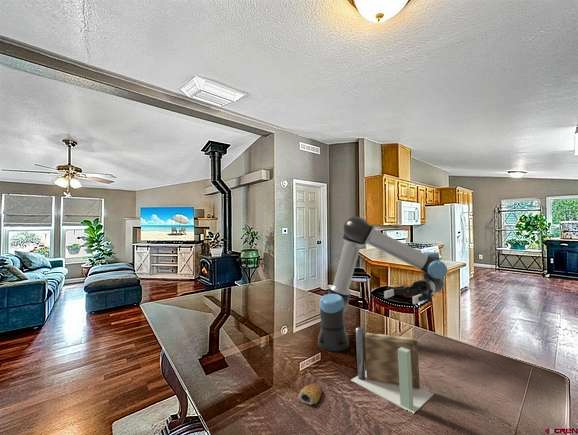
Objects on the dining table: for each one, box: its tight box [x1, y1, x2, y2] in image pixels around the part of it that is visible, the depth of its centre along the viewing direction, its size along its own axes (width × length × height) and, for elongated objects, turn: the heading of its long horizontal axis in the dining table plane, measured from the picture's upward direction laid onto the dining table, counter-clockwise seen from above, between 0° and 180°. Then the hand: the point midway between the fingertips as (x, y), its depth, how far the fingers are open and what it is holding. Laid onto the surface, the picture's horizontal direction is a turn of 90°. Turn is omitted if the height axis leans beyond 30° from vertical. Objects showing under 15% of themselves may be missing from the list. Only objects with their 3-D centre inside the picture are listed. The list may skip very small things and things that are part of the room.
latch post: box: [398, 347, 413, 410], centre depth 85 cm, size 3×2×18 cm
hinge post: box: [355, 326, 366, 380], centre depth 101 cm, size 3×3×19 cm
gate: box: [364, 332, 421, 389], centre depth 97 cm, size 18×2×17 cm, turn 67°
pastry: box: [297, 383, 323, 406], centre depth 92 cm, size 9×7×4 cm
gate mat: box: [350, 370, 435, 415], centre depth 95 cm, size 24×14×1 cm, turn 39°
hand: (398, 297), depth 109 cm, fingers open, 12 cm apart
